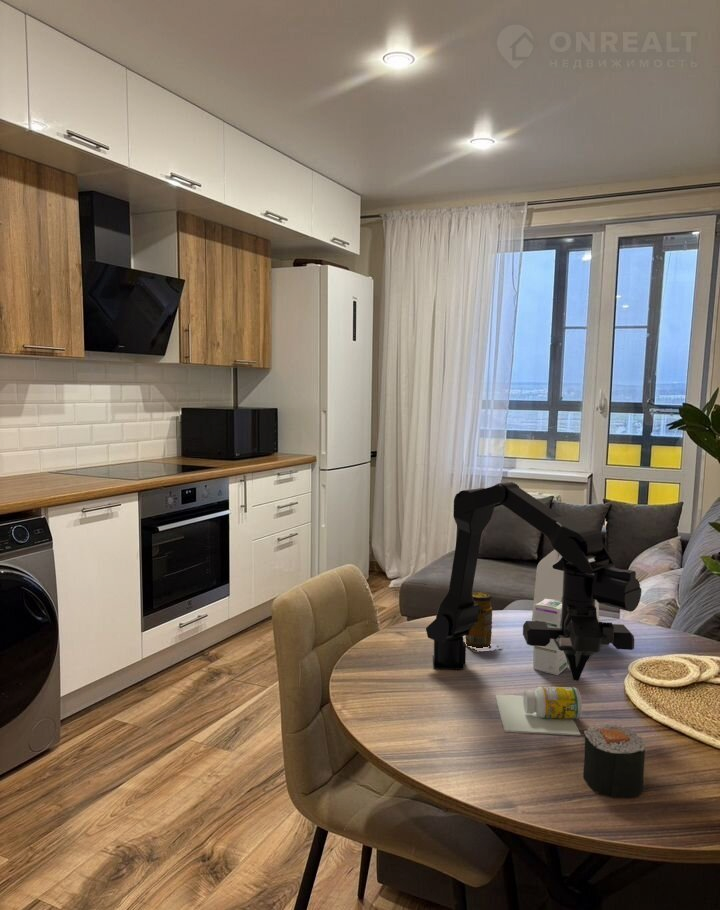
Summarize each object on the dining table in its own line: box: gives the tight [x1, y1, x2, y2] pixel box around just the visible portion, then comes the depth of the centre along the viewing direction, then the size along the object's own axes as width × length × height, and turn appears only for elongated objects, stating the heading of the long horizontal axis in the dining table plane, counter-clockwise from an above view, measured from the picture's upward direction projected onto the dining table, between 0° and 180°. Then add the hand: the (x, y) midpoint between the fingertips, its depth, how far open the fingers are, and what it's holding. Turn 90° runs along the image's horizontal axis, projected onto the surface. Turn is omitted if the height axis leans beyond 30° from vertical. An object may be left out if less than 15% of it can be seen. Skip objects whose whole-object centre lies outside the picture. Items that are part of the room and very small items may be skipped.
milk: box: [531, 548, 600, 622], centre depth 161 cm, size 12×12×26 cm
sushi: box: [582, 724, 647, 799], centre depth 102 cm, size 8×8×8 cm
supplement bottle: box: [522, 686, 583, 720], centre depth 122 cm, size 5×5×10 cm
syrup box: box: [532, 599, 569, 676], centre depth 144 cm, size 6×6×14 cm
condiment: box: [463, 591, 498, 653], centre depth 157 cm, size 7×8×12 cm
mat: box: [494, 694, 581, 736], centre depth 124 cm, size 13×14×1 cm
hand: (575, 680), depth 123 cm, fingers closed
